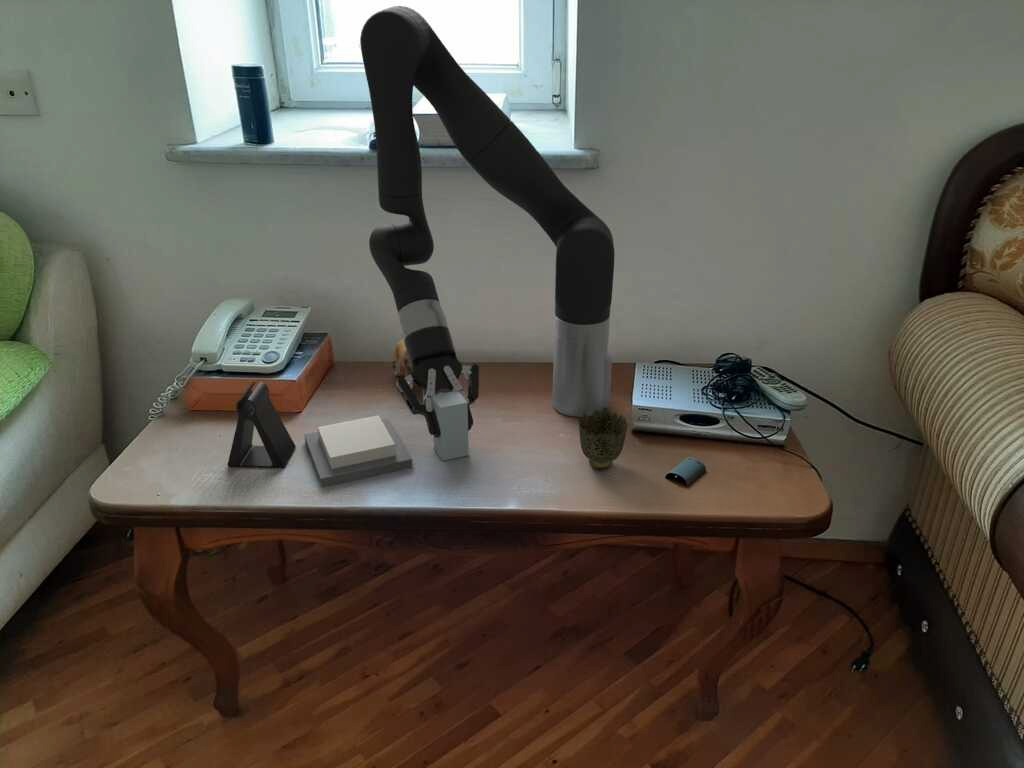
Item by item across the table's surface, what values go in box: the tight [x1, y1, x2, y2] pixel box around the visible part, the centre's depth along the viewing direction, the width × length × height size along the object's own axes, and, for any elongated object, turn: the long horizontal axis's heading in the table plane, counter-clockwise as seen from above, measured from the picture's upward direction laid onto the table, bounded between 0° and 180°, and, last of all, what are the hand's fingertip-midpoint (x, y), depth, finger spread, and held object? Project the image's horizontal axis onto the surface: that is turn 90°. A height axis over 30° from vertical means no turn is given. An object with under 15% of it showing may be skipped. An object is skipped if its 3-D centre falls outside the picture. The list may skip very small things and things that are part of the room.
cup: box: [577, 408, 629, 471], centre depth 120 cm, size 8×7×8 cm
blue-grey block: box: [432, 391, 470, 462], centre depth 123 cm, size 4×4×10 cm
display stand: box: [303, 414, 414, 488], centre depth 124 cm, size 14×14×4 cm
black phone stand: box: [227, 381, 296, 469], centre depth 121 cm, size 9×6×12 cm, turn 88°
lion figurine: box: [391, 339, 414, 389], centre depth 147 cm, size 15×5×9 cm, turn 35°
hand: (453, 432), depth 123 cm, fingers closed on blue-grey block, 4 cm apart
